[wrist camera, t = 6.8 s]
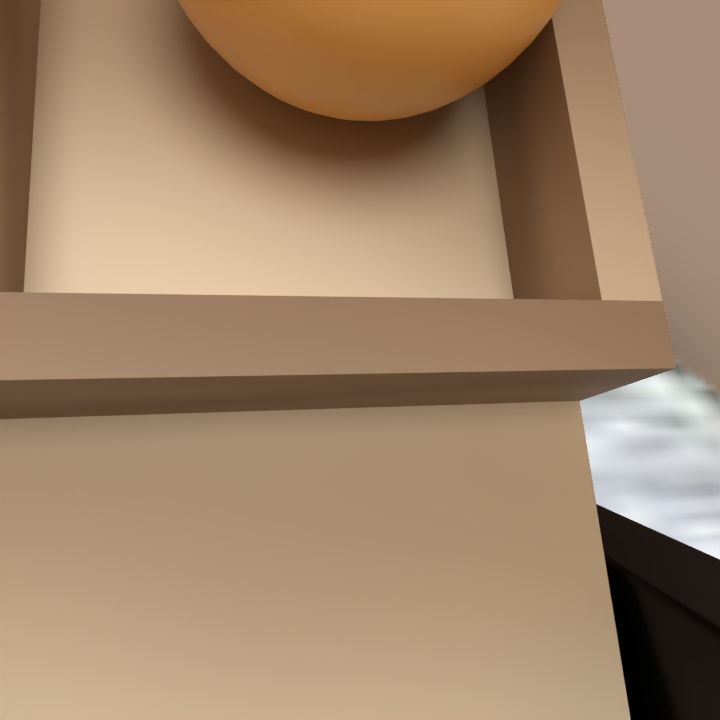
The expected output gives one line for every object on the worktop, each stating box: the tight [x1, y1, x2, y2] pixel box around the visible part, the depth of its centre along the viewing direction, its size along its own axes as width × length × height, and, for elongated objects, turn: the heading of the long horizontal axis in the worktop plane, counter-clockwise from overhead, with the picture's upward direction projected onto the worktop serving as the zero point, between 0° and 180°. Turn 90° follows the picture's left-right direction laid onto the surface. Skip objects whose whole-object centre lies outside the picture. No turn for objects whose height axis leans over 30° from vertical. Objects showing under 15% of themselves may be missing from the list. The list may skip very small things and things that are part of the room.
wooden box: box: [0, 0, 676, 720], centre depth 9 cm, size 9×5×11 cm, turn 4°
